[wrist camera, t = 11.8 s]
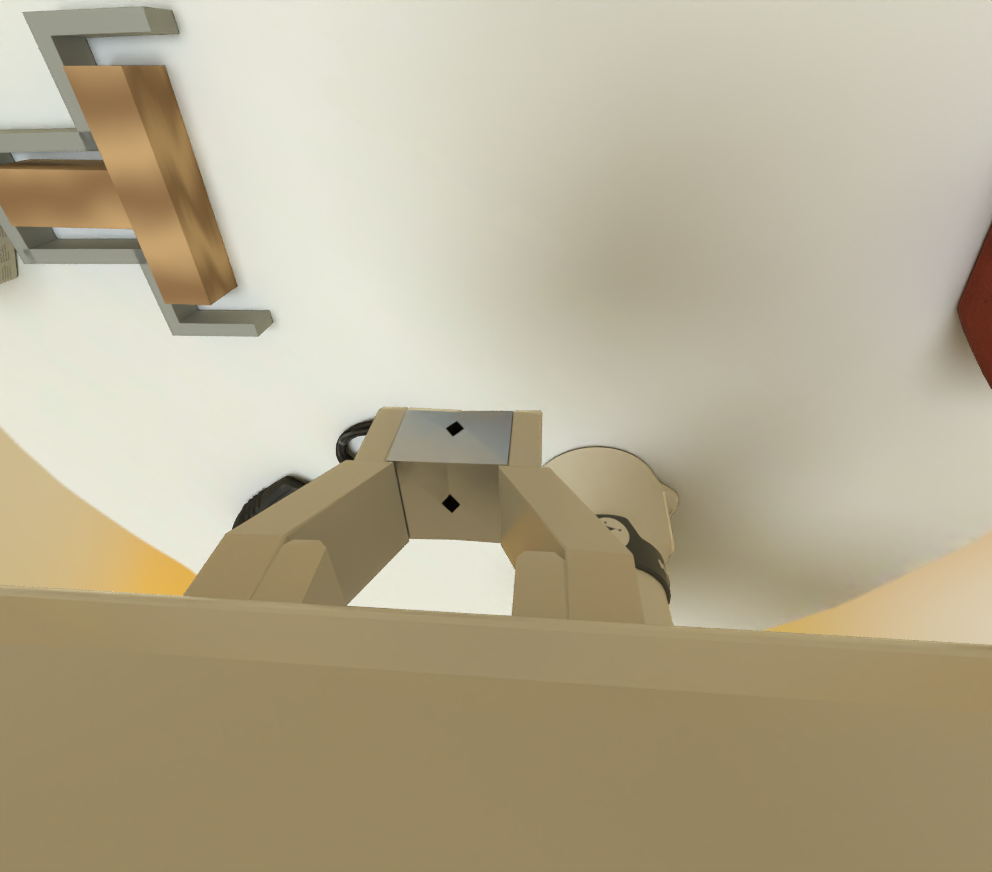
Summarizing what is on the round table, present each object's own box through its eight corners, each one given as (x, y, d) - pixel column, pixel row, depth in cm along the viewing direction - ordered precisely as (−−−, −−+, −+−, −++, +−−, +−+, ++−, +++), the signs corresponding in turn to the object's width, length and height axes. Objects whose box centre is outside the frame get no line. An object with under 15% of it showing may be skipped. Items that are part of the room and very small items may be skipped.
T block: (237, 285, 44) (210, 305, 41) (93, 281, 45) (54, 299, 42) (164, 65, 35) (120, 65, 31) (-17, 65, 36) (-80, 65, 32)
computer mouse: (228, 512, 64) (205, 545, 60) (391, 386, 50) (376, 416, 46) (287, 551, 68) (269, 584, 64) (453, 444, 54) (445, 477, 50)
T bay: (273, 322, 46) (258, 336, 44) (90, 320, 48) (66, 334, 45) (171, 10, 33) (142, 6, 30) (-78, 21, 34) (-125, 18, 32)
